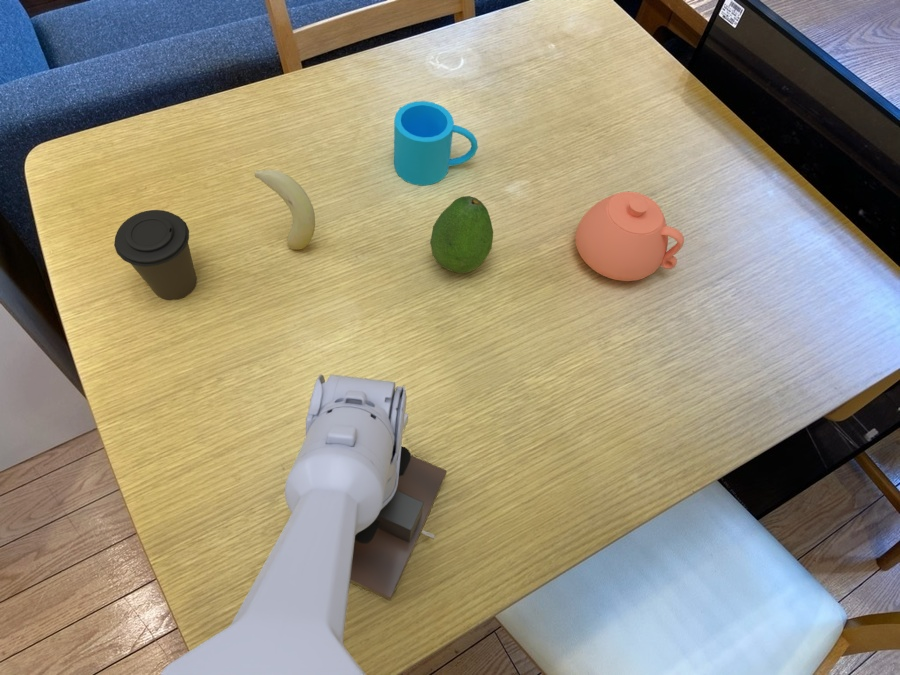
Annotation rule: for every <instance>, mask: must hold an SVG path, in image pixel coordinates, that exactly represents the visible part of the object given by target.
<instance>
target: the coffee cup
mask: <svg viewBox="0 0 900 675" xmlns="http://www.w3.org/2000/svg"><path fill="white" fill-rule="evenodd" d="M189 240H190V229H189V227H188V225H187V222H186V221H185V220H184V219H183V218H181V216H179V215H177V214H174V213H173V212H171V211H167V210H164V209H163V210H162V209H150V210H145V211H140V212H138V213H135V214H133V215H132V216H129V218H127V219H126V220H125V221H124V222H123V223H121V225H120V226H119V228H118V229H117V231H116V234H115V236H114V242H113V243H114V250H115V253H116V255H118V256H119V258H120V259H121V260H123V261H124V262H126V263H129V264H130V266H132V267H133V268H134V270H135V271H136V272H137V273H138V275H139V276H140V277H141V278H142V279H143V281H144V282H145V283H146V284H147V285H148V287H149V288H150V289H151V290H152V291H153V293H154V294H155V295H156V296H157V297H159V298H160V299H163V300H166V301H177V300H181V299H182V298H186V297H187V296H188V295H190V294H191V293H193V291H194V290H195V288H196V286H197V283H198V280H197V279H198V278H197V277H198V276H197V273H196V269H195V264H194V261H193V257H192V253H191V252H192V251H191V249H190V245H189Z"/></svg>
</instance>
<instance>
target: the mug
mask: <svg viewBox="0 0 900 675" xmlns="http://www.w3.org/2000/svg"><path fill="white" fill-rule="evenodd" d="M393 120H394V123H393V126H394V127H393V166H394V170H395V173H396V174H397V175H398V177H399V178H401V179H402V180H403V181H405V182H407V183H409V184H412V185H415V186H431V185H434V184H438V183H440V181H442V180H443V179H445V178H446V176H447V175H448V173H449V168H450V167H453V166H457V165H458V166H459V165H462V164H465V163H466V162H468V161H470V160H471V159H472V158H473V157H475V155H476V153H477V152H478V148H479V145H478V140H477V138H476V137H475V135H474V133H472V132H471V131H470V130H468V129H467V128H465V127H463V126H460V125H457V124H455V122H454V118H453V115H452V114H451V112H450V111H449V110H448V109H447V108H445V107H443V105H441V104H438V103H435V102H432V101H425V100H421V101H419V100H418V101H413V102H409V103H406V104H405V105H402V106H401V107H400V108H399V109H398V110H397V111H396V113H395V116H394V119H393ZM453 133H455V134H459V135H461V136H463V137H465V138H466V139H467V140H468V141H469V142H470V148H469V150H468V151H467V152H466V153H464V154H463V155H461V156H457V157H453V158H451V151H452V143H453V135H454V134H453Z"/></svg>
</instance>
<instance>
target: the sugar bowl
mask: <svg viewBox="0 0 900 675" xmlns="http://www.w3.org/2000/svg"><path fill="white" fill-rule="evenodd" d="M669 237H670V238H671V239H674V240H675V241H676V244H674V245H673V246H672V247H671V248H669V249H668V244H669ZM574 239H575V247H576V249H577V252H578V254H579V255H580V258H582V260H583V261H584V263H585V264H586V265H587V266H588V267H590V268H591V269H592V271H594V272H596V273H597V274H598V275H599V274H600V275H601V276H603V277H605V278H608V279H612V280H614V281H621V282H622V281H623V282H631V281H639V280H642V279H645V278H647V277H649V276H650V275H653V273H655V272H656V271H657V270H658V269H659V268H660V266H661V267H662V268H663V269H665V270H672V269H673V268H675V267H676V266H677V265H678V264H677V263H678V259H677V257H676V254H677V253H679V251H680V250H681V249H682V248H683V246H684V244H685V237H684V235H683V233H682V232H681V231H680V230H679V229H677V228H675V227H672V226H669V225H667V221H666V218H665V215H664V213H663V211H662V209H661V207H660V206H659V204H658V203H657V202H656V201H655V200H653V199H652V198H650V197H649V196H647V195H645V194H643V193H640V192H635V191H622V192H617V193H614V194H612V195H610V196H607V197H604V198H603V199H601V200H600V201H597V202H596V203H595V204H594V205H592V206H591V207H590V208H589V209H588V210H587V211H586V212H585V214H584V215H583V216H582V217H581V219H580V221H579V223H578V225H577V227H576V230H575V237H574ZM667 249H668V250H667Z"/></svg>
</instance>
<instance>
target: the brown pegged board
mask: <svg viewBox="0 0 900 675" xmlns="http://www.w3.org/2000/svg"><path fill="white" fill-rule="evenodd" d="M447 471H448V470H446V469H443V468H442V467H439V466H437V465H435V464H432V463H431V462H428V461H426V460H423V459H421V458H418V457H417V456H414V455H412V454H411V460H410V462H409V464H408V466H407V469H406V471H405V473H404V475H402V476H399V478H398V486H397V489H396V490H398V491H400V492H402V493H404V494H407V495H409V496H411V497H413V498H416V499H418V500H420V501H422V502H424V505H423V511H422V516H421V519H420V521H419V523H418V525H417V528H416V530H415V532H414V534H413V537H412V539H411V541H410V542H407V541H405V540H403V539H400V538H398V537H396V536H394V535H392V534H390V533H387V532H385V531H383V530H381V529H379V528H378V529H377V531H376V533H375V535H374V537H373V539H372V540H371V541H370V542H369V543H368V544H363V543H359V542H357V541H355V542H354V551H353V559H352V568H351V577H350V584H352V585H355V586H357V587H359V588H361V589H363V590H365V591H368V592H370V593H372V594H374V595H375V596H377V597H378V596H379V597H380V598H382V599H384V600H386V601H388V602H391V601H392V599H393V598H394V595H395V593H396V590H397V588H398V586H399V584H400V581H401V580H402V577H403V574H404V572H405V570H406V568H407V565H408V564H409V561H410V559H411V556H412V553H413V552H414V550H415V547H416V545H417V542H418V540H419V538H420V536H421V535H424V536H426V537H428V538H430V539H432V540H435V538H436V535H435V534H433V533H431V532H428V531H426V530H424V526H425V524H426V522H427V519H428V518H429V515H430V513H431V510H432V509H433V506H434V504H435V501H436V500H437V497H438V495H439V493H440V490H441V488H442V486H443V483H444V482H445V481H444V480H445V478H446V476H447Z"/></svg>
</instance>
